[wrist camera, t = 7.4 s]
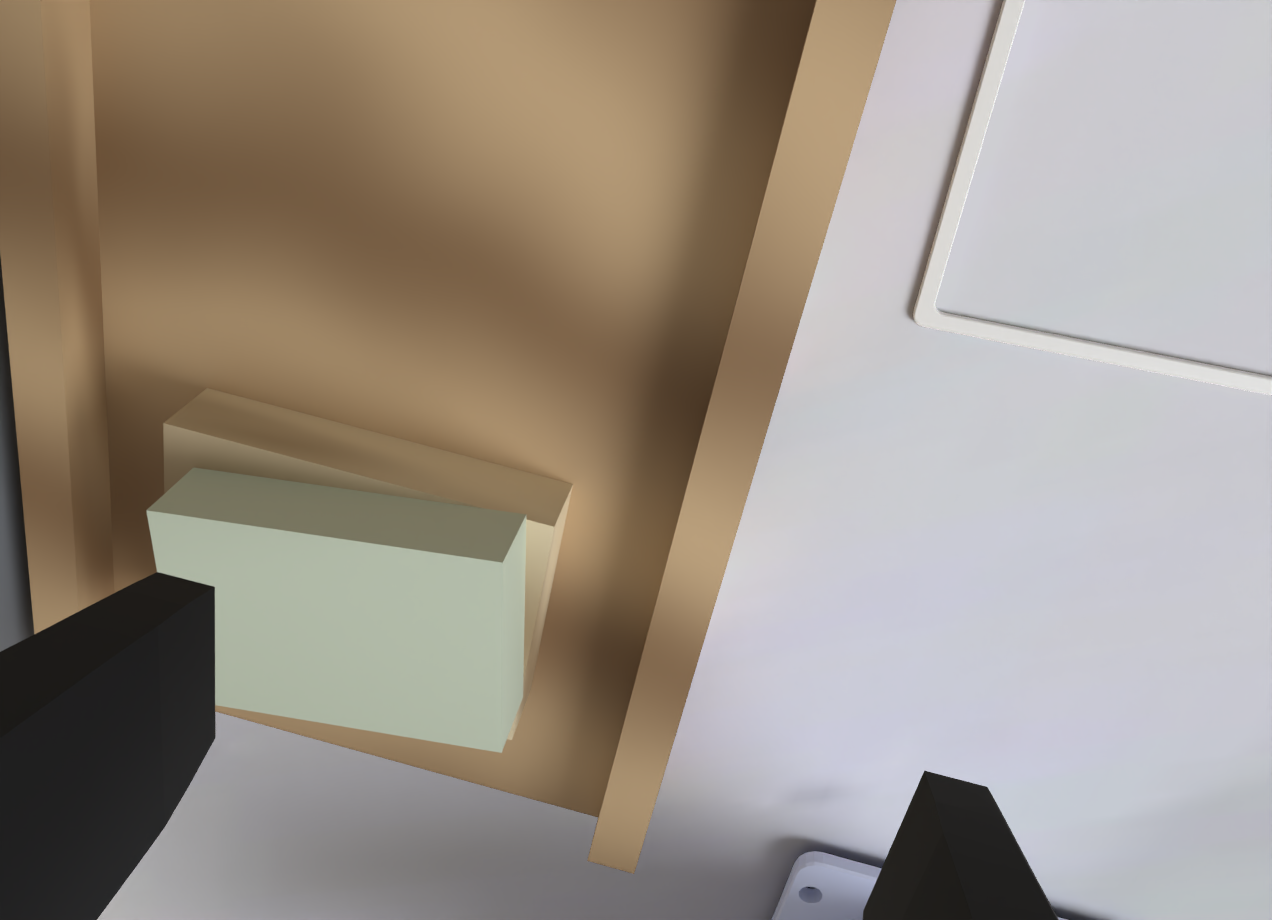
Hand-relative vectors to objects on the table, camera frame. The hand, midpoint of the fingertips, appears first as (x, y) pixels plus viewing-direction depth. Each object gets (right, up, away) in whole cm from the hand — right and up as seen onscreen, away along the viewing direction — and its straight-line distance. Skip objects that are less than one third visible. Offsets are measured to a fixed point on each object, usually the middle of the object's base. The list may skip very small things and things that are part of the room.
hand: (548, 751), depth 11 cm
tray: (-3, +6, +9) cm, 11 cm away
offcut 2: (-4, +1, +9) cm, 10 cm away
